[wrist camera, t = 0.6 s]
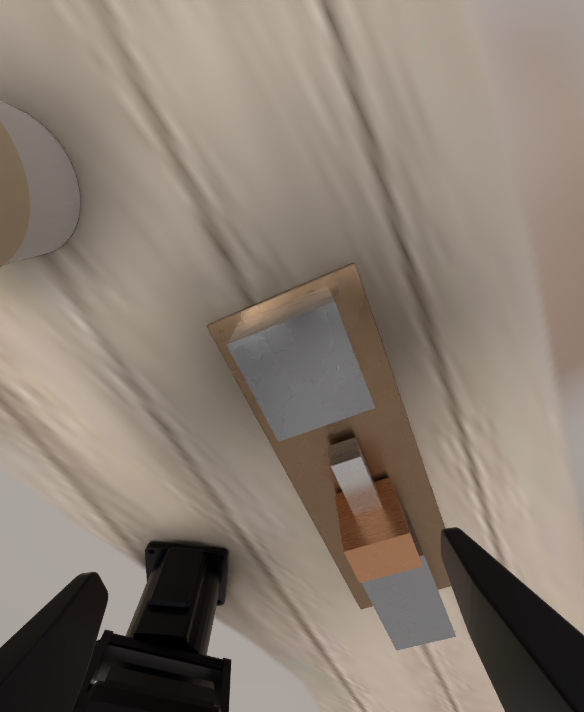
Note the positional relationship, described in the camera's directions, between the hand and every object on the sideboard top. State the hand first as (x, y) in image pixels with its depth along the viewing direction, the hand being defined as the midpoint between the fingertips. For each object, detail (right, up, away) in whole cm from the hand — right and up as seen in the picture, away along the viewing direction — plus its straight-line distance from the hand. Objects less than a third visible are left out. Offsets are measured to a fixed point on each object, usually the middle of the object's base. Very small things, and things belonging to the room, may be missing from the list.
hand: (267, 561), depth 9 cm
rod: (+7, -7, +16) cm, 19 cm away
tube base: (+5, -3, +15) cm, 16 cm away
